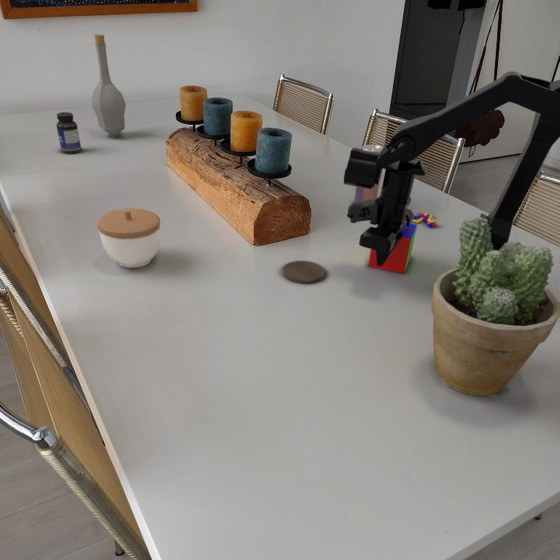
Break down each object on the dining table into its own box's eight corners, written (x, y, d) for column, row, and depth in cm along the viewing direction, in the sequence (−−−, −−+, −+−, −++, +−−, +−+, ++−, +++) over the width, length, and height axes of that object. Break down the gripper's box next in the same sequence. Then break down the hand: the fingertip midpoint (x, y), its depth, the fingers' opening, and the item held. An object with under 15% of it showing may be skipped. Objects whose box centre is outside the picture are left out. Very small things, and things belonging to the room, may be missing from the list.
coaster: (314, 287, 112) (314, 284, 111) (275, 276, 115) (275, 273, 114) (331, 269, 118) (331, 267, 118) (293, 259, 121) (293, 257, 121)
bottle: (137, 136, 189) (125, 35, 170) (113, 143, 181) (98, 38, 163) (113, 130, 194) (99, 31, 175) (89, 137, 186) (72, 34, 167)
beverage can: (350, 206, 147) (357, 148, 138) (358, 199, 151) (365, 142, 142) (371, 210, 145) (379, 152, 136) (378, 203, 149) (387, 147, 140)
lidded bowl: (173, 252, 121) (169, 204, 114) (147, 278, 112) (141, 227, 105) (122, 243, 124) (114, 196, 117) (92, 268, 114) (82, 218, 107)
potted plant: (536, 366, 94) (595, 229, 78) (514, 429, 81) (578, 281, 65) (434, 332, 101) (469, 200, 85) (398, 385, 88) (431, 242, 72)
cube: (368, 266, 120) (373, 231, 115) (375, 251, 126) (381, 218, 121) (404, 273, 118) (411, 238, 113) (410, 257, 124) (417, 224, 119)
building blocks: (426, 213, 145) (427, 207, 144) (442, 226, 139) (444, 219, 138) (405, 216, 143) (406, 210, 142) (420, 228, 137) (422, 222, 136)
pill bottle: (60, 149, 174) (52, 112, 168) (79, 147, 177) (73, 110, 170) (63, 154, 170) (55, 117, 163) (83, 153, 172) (76, 115, 165)
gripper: (370, 172, 115) (357, 240, 125) (340, 197, 102) (328, 272, 111) (422, 184, 112) (404, 253, 122) (398, 211, 98) (380, 287, 108)
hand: (379, 265), depth 116 cm, fingers closed
